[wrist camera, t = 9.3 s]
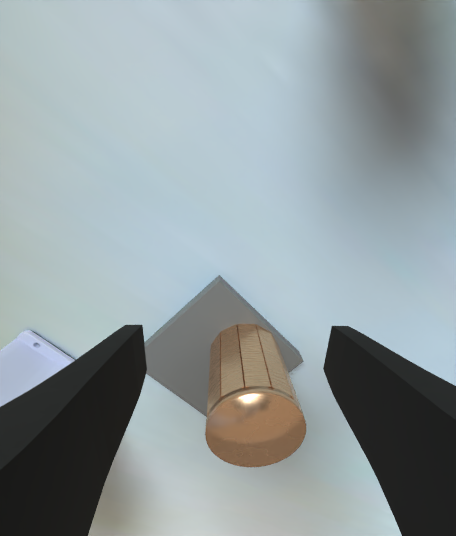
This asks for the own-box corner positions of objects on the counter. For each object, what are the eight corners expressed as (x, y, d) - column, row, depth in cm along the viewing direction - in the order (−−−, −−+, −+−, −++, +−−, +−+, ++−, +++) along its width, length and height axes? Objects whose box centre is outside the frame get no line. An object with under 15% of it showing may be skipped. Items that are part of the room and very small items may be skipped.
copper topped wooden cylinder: (209, 379, 20) (205, 467, 14) (210, 322, 18) (205, 395, 12) (274, 379, 20) (298, 466, 14) (281, 323, 18) (313, 395, 12)
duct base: (134, 351, 20) (107, 405, 15) (219, 275, 18) (219, 309, 13) (217, 412, 23) (216, 474, 18) (299, 351, 21) (323, 403, 16)
